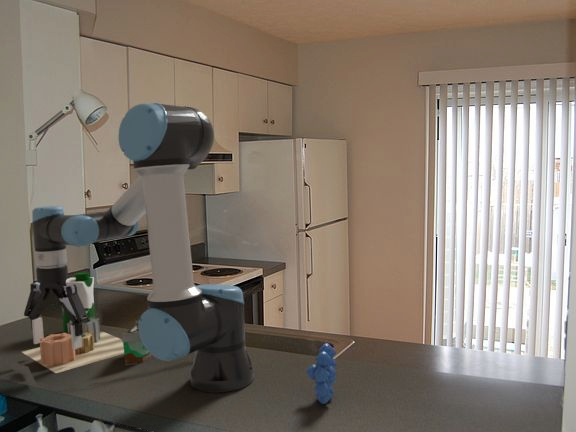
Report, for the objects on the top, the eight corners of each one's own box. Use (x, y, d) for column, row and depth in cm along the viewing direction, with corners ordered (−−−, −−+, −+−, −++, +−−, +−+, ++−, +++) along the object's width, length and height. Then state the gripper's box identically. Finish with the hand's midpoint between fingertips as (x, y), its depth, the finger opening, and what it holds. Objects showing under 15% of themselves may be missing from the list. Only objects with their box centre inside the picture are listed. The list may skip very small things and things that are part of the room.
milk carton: (86, 341, 166) (82, 276, 164) (58, 341, 167) (53, 276, 165) (100, 332, 175) (96, 270, 173) (73, 332, 176) (69, 270, 174)
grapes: (313, 386, 127) (311, 336, 126) (342, 389, 125) (340, 337, 124) (300, 408, 116) (298, 353, 115) (332, 411, 114) (330, 355, 113)
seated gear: (105, 339, 162) (104, 319, 162) (79, 347, 156) (78, 326, 155) (89, 334, 168) (88, 315, 167) (63, 342, 161) (62, 322, 160)
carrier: (142, 353, 154) (141, 332, 153) (56, 379, 137) (54, 355, 136) (102, 336, 171) (101, 316, 170) (21, 357, 154) (19, 335, 154)
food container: (148, 372, 140) (145, 333, 139) (124, 372, 140) (121, 334, 139) (160, 355, 152) (158, 319, 151) (138, 355, 152) (136, 320, 151)
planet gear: (75, 352, 152) (74, 331, 151) (75, 362, 144) (74, 340, 143) (42, 357, 149) (40, 335, 148) (40, 367, 141) (38, 345, 140)
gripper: (5, 266, 146) (11, 344, 148) (77, 271, 135) (83, 355, 137) (29, 261, 152) (35, 336, 154) (99, 265, 142) (104, 345, 144)
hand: (57, 345), depth 146 cm, fingers open, 13 cm apart
